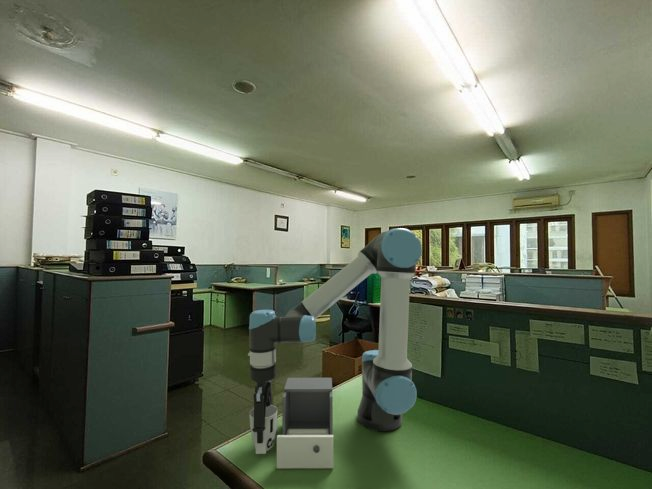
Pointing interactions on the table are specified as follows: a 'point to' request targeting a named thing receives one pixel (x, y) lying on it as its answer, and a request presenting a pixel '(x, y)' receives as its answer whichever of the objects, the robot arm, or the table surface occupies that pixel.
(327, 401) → the housing
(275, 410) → the cup
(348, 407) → the table surface
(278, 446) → the white drawer
